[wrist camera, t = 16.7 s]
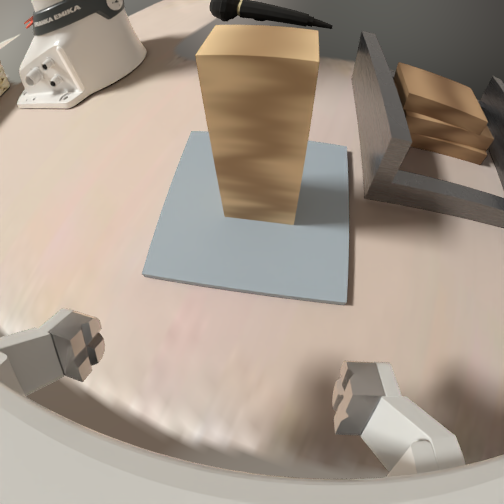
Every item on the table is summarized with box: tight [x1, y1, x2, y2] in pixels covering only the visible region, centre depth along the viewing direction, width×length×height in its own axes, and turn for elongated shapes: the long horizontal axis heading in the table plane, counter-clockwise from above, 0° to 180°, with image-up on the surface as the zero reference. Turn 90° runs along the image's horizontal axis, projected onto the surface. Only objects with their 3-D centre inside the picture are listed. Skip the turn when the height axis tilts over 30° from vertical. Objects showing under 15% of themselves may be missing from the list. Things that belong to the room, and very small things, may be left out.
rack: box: [352, 31, 504, 228], centre depth 23 cm, size 19×18×7 cm
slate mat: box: [142, 131, 349, 305], centre depth 23 cm, size 14×14×1 cm
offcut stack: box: [393, 62, 494, 165], centre depth 25 cm, size 12×7×6 cm, turn 83°
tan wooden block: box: [195, 25, 319, 225], centre depth 17 cm, size 5×4×13 cm
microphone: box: [210, 0, 332, 29], centre depth 38 cm, size 6×6×20 cm
